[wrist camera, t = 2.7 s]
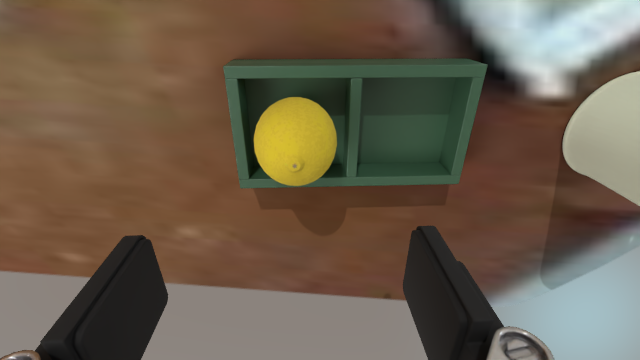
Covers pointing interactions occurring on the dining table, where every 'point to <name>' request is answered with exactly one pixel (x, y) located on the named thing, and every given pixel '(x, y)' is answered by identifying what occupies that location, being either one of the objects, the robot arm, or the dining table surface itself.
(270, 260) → the dining table surface
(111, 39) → the dining table surface
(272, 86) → the holder
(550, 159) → the dining table surface
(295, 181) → the lemon
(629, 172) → the can
